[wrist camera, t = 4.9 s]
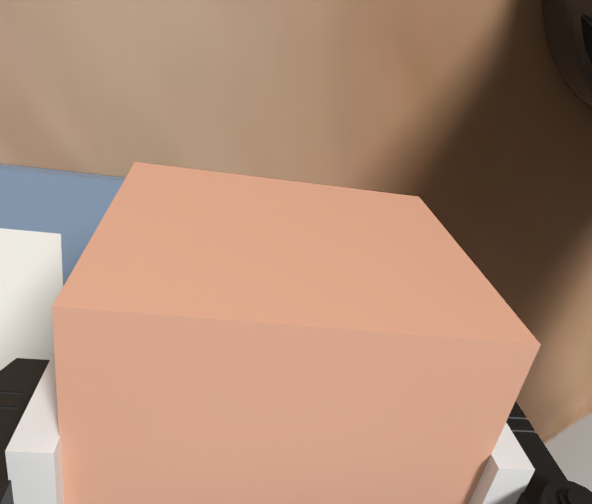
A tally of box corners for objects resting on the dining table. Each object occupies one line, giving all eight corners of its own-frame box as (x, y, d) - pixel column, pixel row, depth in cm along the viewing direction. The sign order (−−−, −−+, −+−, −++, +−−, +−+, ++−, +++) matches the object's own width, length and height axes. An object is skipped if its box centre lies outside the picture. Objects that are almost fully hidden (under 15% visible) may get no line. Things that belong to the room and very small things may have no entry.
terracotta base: (419, 196, 15) (541, 344, 9) (360, 404, 19) (418, 613, 13) (134, 161, 14) (52, 306, 8) (129, 392, 18) (68, 616, 11)
